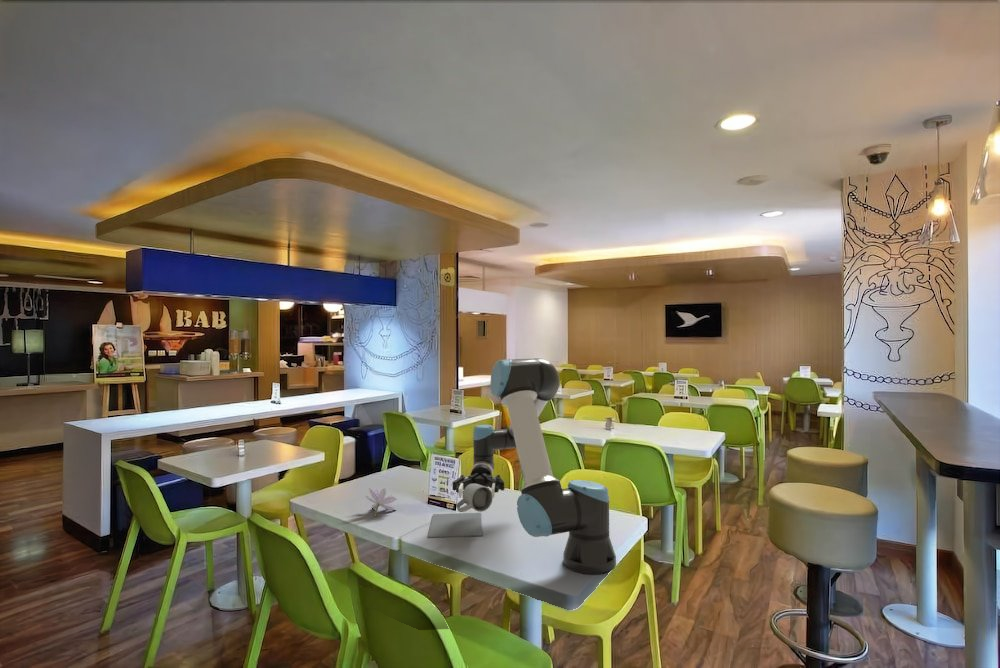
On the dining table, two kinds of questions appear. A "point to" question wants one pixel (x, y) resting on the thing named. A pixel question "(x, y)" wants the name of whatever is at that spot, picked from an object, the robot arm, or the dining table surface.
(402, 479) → the dining table surface
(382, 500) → the water lily
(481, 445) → the robot arm
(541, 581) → the dining table surface
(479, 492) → the ceramic mug
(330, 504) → the dining table surface
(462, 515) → the placemat
